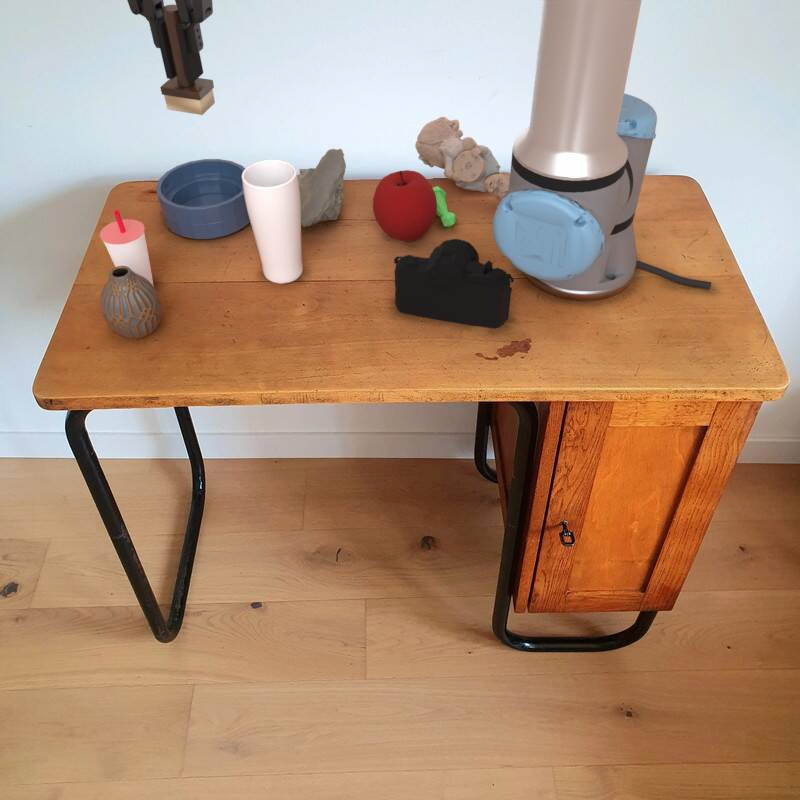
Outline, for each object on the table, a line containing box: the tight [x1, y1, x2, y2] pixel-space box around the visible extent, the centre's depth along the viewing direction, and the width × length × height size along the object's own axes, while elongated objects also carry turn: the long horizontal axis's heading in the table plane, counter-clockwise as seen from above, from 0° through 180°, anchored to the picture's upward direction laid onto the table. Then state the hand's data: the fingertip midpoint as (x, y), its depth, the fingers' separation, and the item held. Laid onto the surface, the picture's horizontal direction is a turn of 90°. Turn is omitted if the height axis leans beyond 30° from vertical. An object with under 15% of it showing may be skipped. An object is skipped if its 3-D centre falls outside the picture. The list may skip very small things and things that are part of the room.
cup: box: [99, 209, 154, 286], centre depth 98 cm, size 5×5×12 cm
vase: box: [100, 266, 163, 339], centre depth 94 cm, size 7×7×9 cm
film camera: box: [393, 238, 515, 329], centre depth 97 cm, size 15×10×9 cm, turn 74°
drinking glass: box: [242, 159, 304, 285], centre depth 99 cm, size 7×7×15 cm
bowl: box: [155, 158, 250, 240], centre depth 112 cm, size 13×13×6 cm
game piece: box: [432, 186, 458, 228], centre depth 111 cm, size 4×4×6 cm
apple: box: [372, 169, 437, 242], centre depth 106 cm, size 9×9×10 cm
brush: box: [160, 4, 216, 116], centre depth 95 cm, size 5×4×12 cm
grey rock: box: [297, 148, 347, 228], centre depth 111 cm, size 14×10×10 cm
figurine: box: [414, 116, 510, 202], centre depth 116 cm, size 9×8×20 cm
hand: (185, 75), depth 96 cm, fingers closed on brush, 2 cm apart
